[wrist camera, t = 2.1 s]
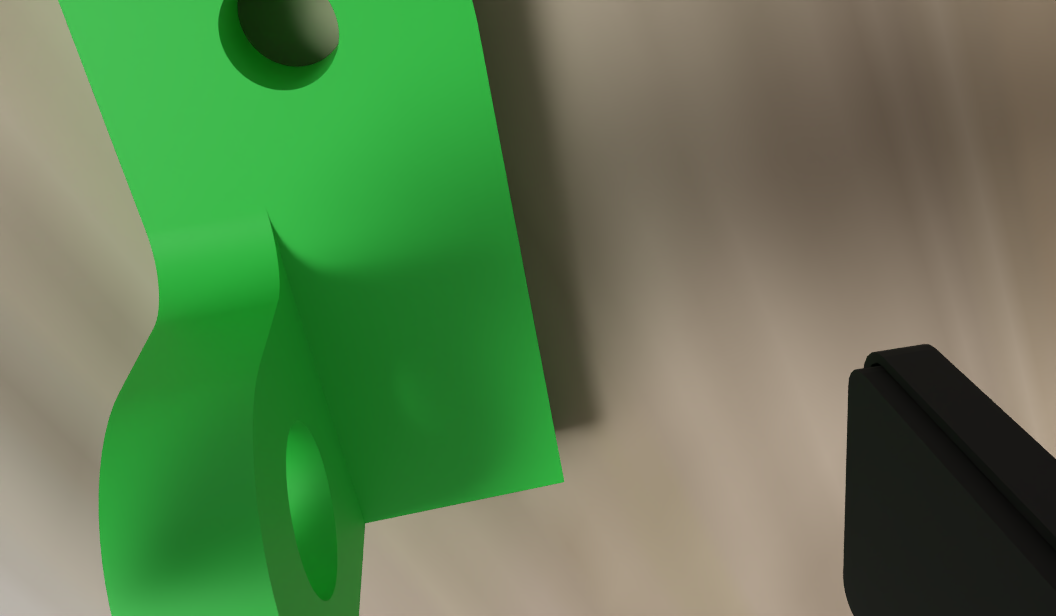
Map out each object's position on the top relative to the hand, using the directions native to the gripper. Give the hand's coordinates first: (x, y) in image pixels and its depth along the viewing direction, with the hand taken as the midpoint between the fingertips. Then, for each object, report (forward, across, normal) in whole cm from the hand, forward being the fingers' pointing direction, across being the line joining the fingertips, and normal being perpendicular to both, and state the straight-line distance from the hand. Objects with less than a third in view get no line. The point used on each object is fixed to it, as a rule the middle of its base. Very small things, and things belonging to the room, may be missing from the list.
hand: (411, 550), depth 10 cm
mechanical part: (+10, +1, -1) cm, 10 cm away
